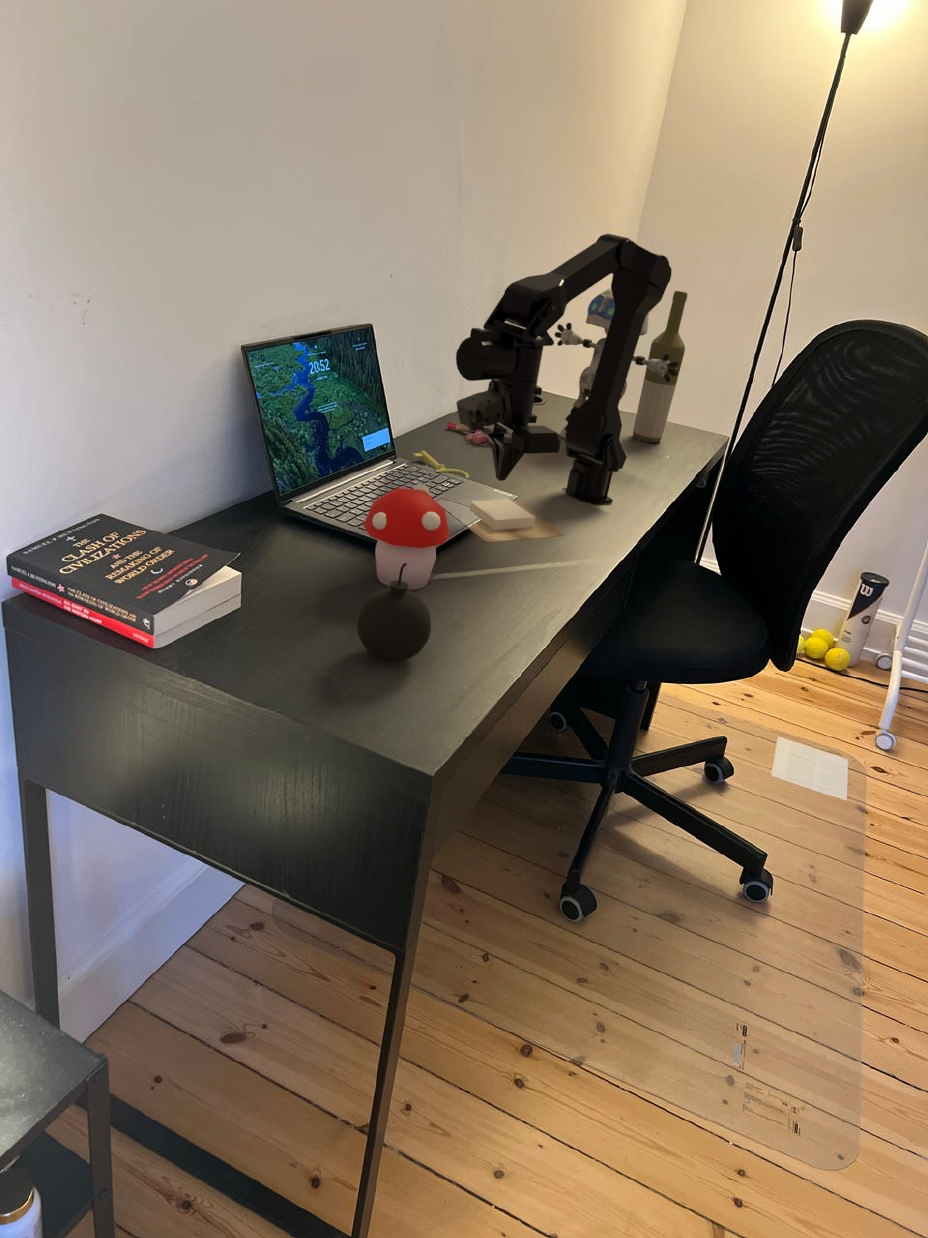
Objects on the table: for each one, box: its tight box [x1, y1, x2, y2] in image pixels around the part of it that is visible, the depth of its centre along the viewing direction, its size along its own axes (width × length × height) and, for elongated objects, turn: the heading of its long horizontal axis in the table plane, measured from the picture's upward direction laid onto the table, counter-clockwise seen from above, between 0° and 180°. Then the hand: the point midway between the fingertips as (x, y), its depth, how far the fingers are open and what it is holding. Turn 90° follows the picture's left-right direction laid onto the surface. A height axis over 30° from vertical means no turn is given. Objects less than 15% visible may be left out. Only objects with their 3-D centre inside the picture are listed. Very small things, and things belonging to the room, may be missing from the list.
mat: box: [468, 497, 567, 543], centre depth 144 cm, size 14×16×1 cm
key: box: [412, 450, 470, 478], centre depth 161 cm, size 7×12×2 cm, turn 49°
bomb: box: [356, 563, 432, 663], centre depth 100 cm, size 8×8×12 cm
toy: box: [446, 421, 491, 446], centre depth 182 cm, size 7×6×15 cm
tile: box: [469, 499, 535, 530], centre depth 143 cm, size 7×2×8 cm
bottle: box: [632, 290, 688, 443], centre depth 194 cm, size 7×7×30 cm
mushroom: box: [362, 483, 451, 591], centre depth 119 cm, size 11×11×12 cm
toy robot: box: [554, 288, 679, 440], centre depth 185 cm, size 31×12×30 cm, turn 42°
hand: (500, 479), depth 143 cm, fingers closed
